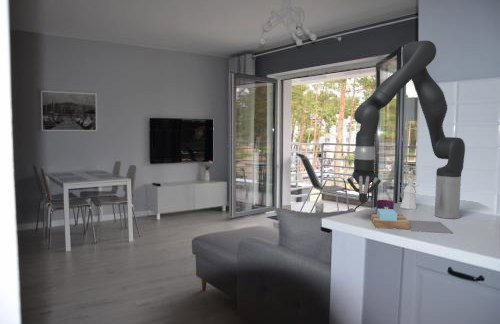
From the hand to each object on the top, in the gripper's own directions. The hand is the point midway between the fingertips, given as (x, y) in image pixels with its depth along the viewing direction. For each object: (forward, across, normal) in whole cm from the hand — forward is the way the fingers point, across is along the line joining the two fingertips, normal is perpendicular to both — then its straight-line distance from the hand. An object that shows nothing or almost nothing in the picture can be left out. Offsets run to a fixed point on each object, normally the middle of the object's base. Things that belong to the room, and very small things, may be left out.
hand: (362, 202), depth 150 cm
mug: (+8, -10, -14) cm, 19 cm away
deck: (+8, -10, 0) cm, 13 cm away
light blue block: (+5, -9, 0) cm, 11 cm away
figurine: (+8, -24, -37) cm, 45 cm away
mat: (+8, -23, +1) cm, 24 cm away
